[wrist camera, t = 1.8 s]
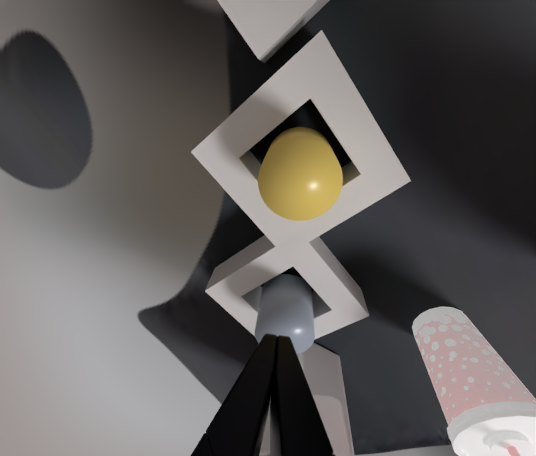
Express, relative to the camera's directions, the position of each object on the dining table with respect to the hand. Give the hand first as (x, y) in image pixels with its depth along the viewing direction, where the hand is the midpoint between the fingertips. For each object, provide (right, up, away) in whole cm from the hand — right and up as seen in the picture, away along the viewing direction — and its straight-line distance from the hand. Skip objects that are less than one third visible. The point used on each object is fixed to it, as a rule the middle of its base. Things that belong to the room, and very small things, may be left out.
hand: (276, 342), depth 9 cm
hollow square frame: (+2, +9, +9) cm, 13 cm away
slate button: (+1, -1, +12) cm, 13 cm away
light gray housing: (+1, -1, +14) cm, 14 cm away
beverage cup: (+15, -5, +15) cm, 22 cm away
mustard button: (+2, +8, +7) cm, 11 cm away
